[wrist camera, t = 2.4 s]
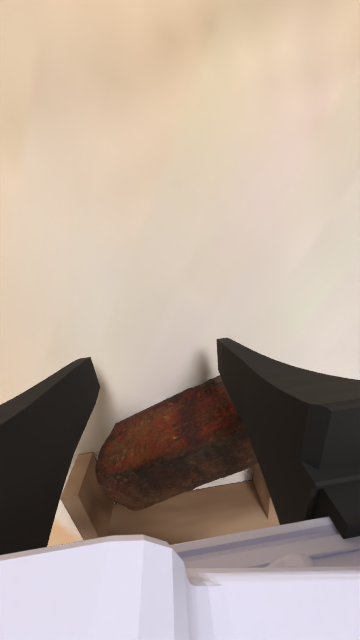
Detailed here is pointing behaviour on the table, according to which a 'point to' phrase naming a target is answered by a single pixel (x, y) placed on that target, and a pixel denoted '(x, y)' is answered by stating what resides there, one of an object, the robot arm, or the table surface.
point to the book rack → (168, 509)
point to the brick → (174, 447)
